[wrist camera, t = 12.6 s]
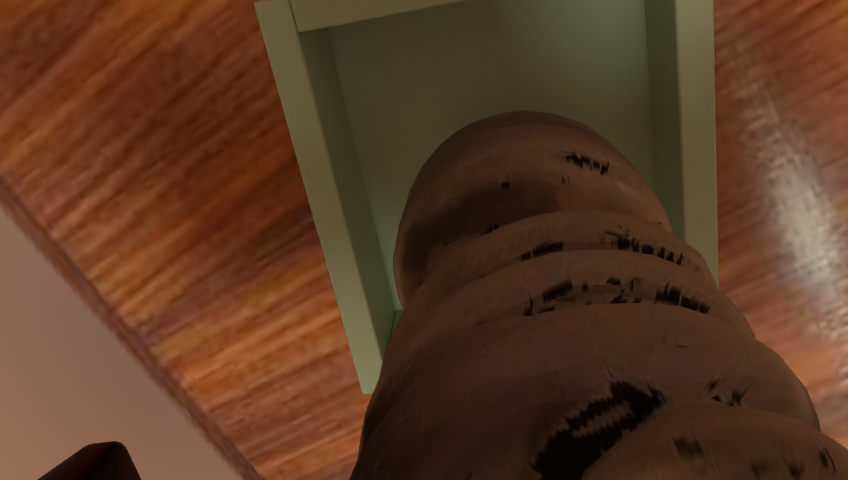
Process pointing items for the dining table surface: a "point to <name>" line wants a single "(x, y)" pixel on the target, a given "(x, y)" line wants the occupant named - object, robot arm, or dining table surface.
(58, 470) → the robot arm
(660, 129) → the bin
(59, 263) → the dining table surface
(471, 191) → the brown ridged cylinder
